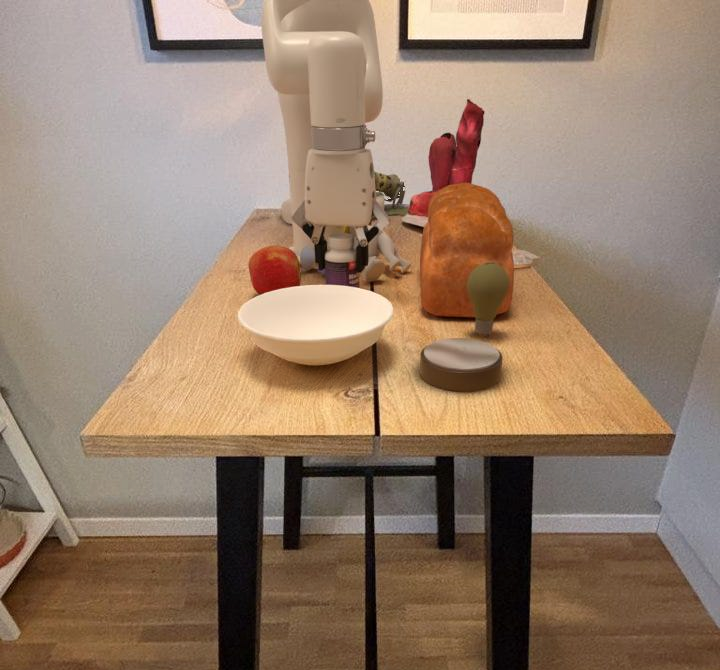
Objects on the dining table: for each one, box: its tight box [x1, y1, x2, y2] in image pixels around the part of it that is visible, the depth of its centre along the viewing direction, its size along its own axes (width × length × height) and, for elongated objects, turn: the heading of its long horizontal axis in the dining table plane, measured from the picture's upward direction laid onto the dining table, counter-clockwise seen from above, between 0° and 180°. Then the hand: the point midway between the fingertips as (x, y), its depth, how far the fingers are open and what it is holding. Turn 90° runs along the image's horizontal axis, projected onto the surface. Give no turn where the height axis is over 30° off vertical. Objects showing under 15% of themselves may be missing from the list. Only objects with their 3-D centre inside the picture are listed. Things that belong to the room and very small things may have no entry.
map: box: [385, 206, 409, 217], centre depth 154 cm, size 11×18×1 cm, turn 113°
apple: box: [247, 245, 302, 295], centre depth 103 cm, size 8×8×8 cm
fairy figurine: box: [298, 246, 325, 276], centre depth 116 cm, size 12×5×12 cm
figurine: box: [343, 224, 412, 283], centre depth 115 cm, size 10×9×15 cm
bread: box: [419, 183, 515, 318], centre depth 102 cm, size 14×26×16 cm, turn 176°
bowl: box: [237, 284, 395, 366], centre depth 85 cm, size 20×20×6 cm
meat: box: [401, 98, 486, 228], centre depth 140 cm, size 23×24×25 cm
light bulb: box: [467, 262, 509, 337], centre depth 89 cm, size 6×6×10 cm
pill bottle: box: [324, 233, 360, 288], centre depth 102 cm, size 5×5×10 cm
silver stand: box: [419, 337, 504, 392], centre depth 81 cm, size 10×10×3 cm
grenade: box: [374, 171, 406, 209], centre depth 153 cm, size 7×7×15 cm
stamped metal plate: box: [512, 247, 541, 269], centre depth 120 cm, size 8×7×2 cm
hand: (342, 268), depth 102 cm, fingers closed on pill bottle, 5 cm apart
